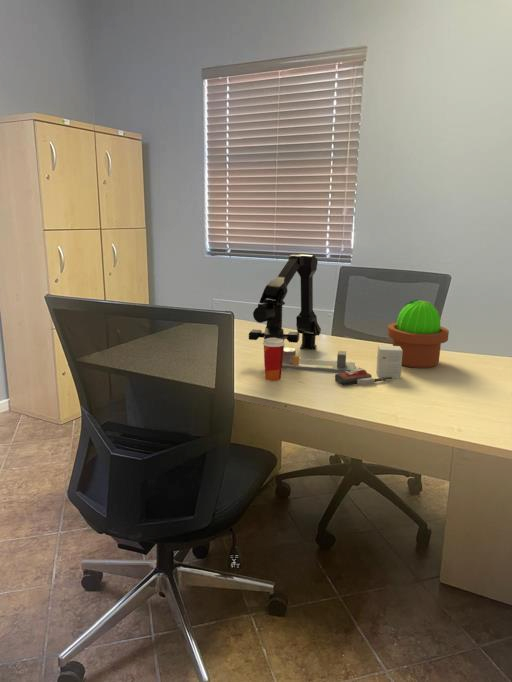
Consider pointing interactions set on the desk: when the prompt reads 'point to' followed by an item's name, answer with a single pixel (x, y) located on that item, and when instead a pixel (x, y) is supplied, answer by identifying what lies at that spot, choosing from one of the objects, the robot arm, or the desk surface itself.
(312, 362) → the gauge board
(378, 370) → the small box
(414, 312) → the potted cactus
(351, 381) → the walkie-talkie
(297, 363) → the block
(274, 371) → the paper cup
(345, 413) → the desk surface
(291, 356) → the grey faceted block
